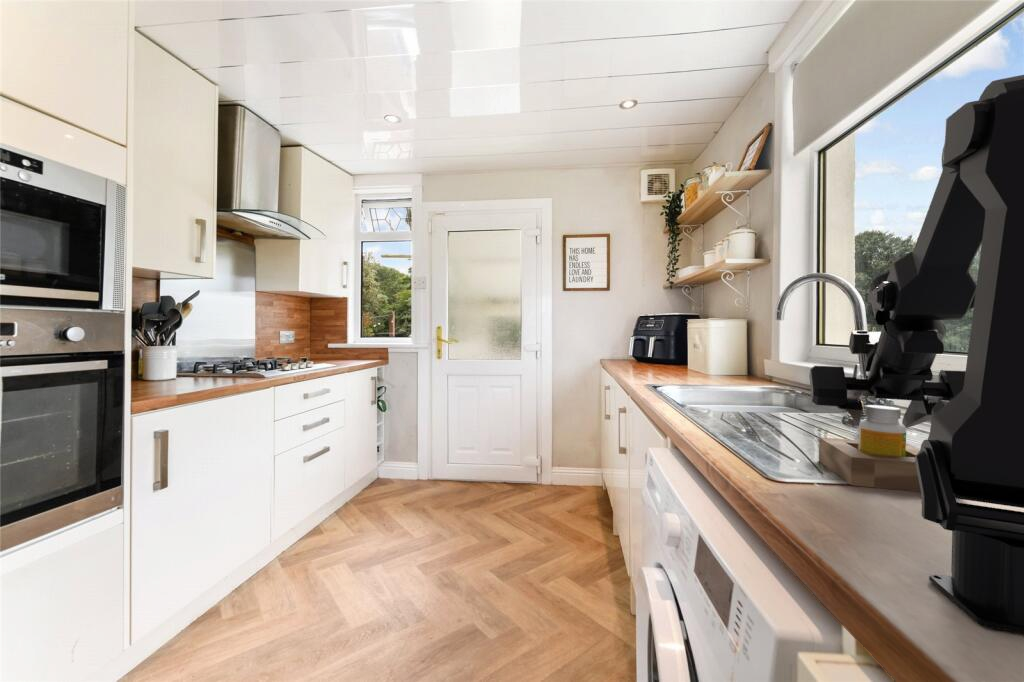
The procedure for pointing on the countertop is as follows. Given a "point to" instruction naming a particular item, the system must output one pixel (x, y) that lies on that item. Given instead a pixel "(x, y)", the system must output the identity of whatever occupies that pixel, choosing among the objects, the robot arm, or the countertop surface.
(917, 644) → the countertop surface
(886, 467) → the walnut collar
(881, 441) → the supplement bottle
